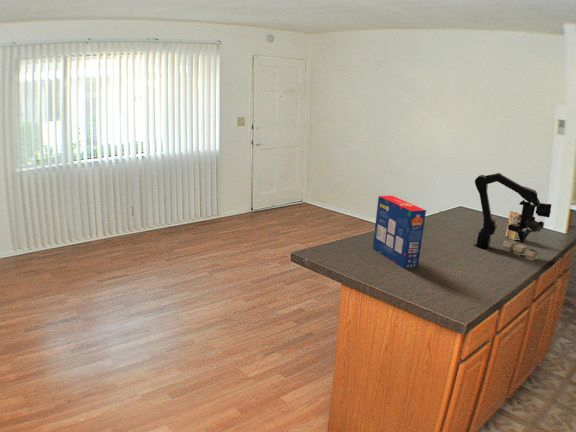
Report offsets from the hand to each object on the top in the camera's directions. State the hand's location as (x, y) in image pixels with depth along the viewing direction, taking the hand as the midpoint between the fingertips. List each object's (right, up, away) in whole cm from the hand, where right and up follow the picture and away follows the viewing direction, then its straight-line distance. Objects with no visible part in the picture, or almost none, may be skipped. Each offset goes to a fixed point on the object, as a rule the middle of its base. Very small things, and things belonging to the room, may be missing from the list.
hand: (521, 242), depth 268 cm
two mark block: (-4, -4, +8) cm, 10 cm away
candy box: (+7, +1, +28) cm, 29 cm away
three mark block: (+3, -8, -4) cm, 10 cm away
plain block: (0, -6, +2) cm, 7 cm away
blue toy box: (-70, -7, -15) cm, 72 cm away
